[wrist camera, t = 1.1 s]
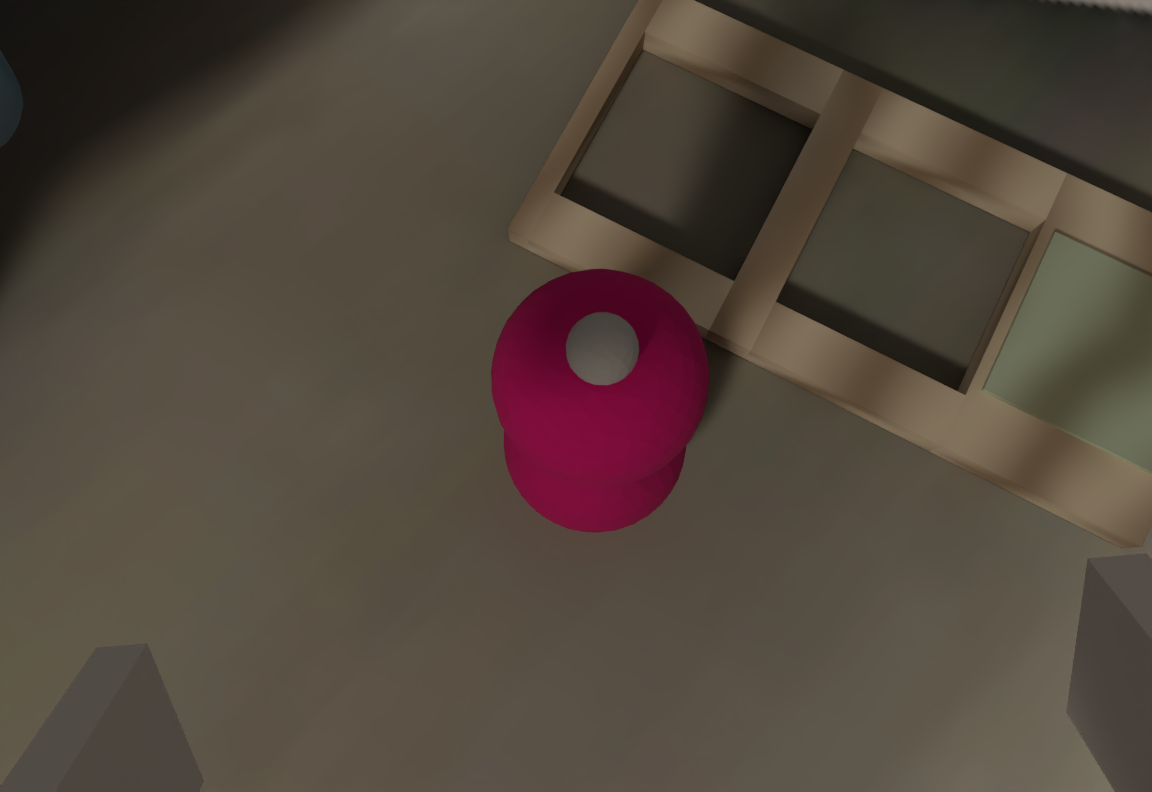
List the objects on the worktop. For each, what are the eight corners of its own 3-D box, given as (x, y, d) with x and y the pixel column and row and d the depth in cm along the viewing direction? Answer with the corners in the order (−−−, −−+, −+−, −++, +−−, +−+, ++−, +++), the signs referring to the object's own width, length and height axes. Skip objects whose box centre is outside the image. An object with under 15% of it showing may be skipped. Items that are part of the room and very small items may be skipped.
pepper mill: (646, 560, 41) (705, 538, 21) (488, 506, 41) (403, 436, 22) (696, 404, 42) (795, 246, 22) (543, 353, 43) (508, 156, 23)
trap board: (510, 241, 44) (507, 226, 42) (647, -1, 46) (650, -25, 44) (1121, 547, 41) (1146, 546, 39) (1235, 272, 43) (1263, 259, 41)
